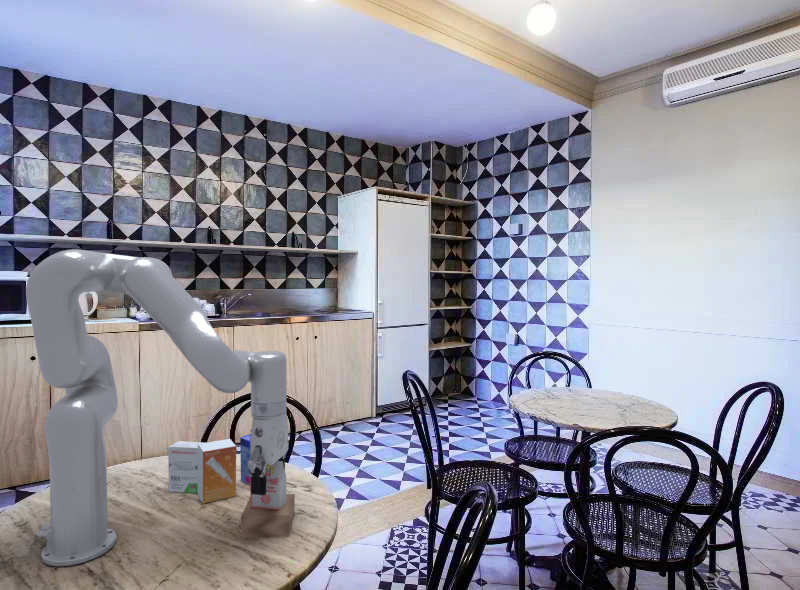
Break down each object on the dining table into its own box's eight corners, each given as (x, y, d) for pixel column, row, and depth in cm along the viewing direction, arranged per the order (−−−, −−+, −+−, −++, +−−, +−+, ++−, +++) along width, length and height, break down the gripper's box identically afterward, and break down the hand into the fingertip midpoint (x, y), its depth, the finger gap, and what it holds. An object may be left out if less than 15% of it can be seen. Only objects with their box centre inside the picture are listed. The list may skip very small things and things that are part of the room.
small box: (202, 504, 118) (202, 451, 117) (197, 494, 123) (196, 443, 122) (236, 496, 122) (236, 445, 121) (230, 487, 127) (230, 438, 127)
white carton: (258, 499, 110) (257, 456, 110) (286, 502, 109) (286, 458, 109) (250, 507, 107) (250, 462, 106) (279, 510, 106) (279, 464, 105)
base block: (240, 539, 103) (240, 516, 103) (250, 516, 113) (250, 495, 113) (289, 538, 104) (289, 515, 104) (294, 514, 114) (294, 493, 114)
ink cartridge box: (238, 481, 131) (238, 428, 130) (255, 474, 135) (256, 423, 134) (262, 491, 125) (262, 436, 124) (279, 484, 129) (279, 430, 129)
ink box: (209, 485, 128) (209, 441, 127) (199, 494, 123) (199, 448, 122) (178, 483, 129) (178, 439, 128) (167, 492, 124) (167, 446, 123)
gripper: (267, 420, 98) (267, 504, 99) (299, 399, 115) (299, 470, 116) (233, 418, 99) (233, 500, 100) (270, 397, 116) (269, 467, 117)
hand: (268, 484), depth 108 cm, fingers open, 9 cm apart
